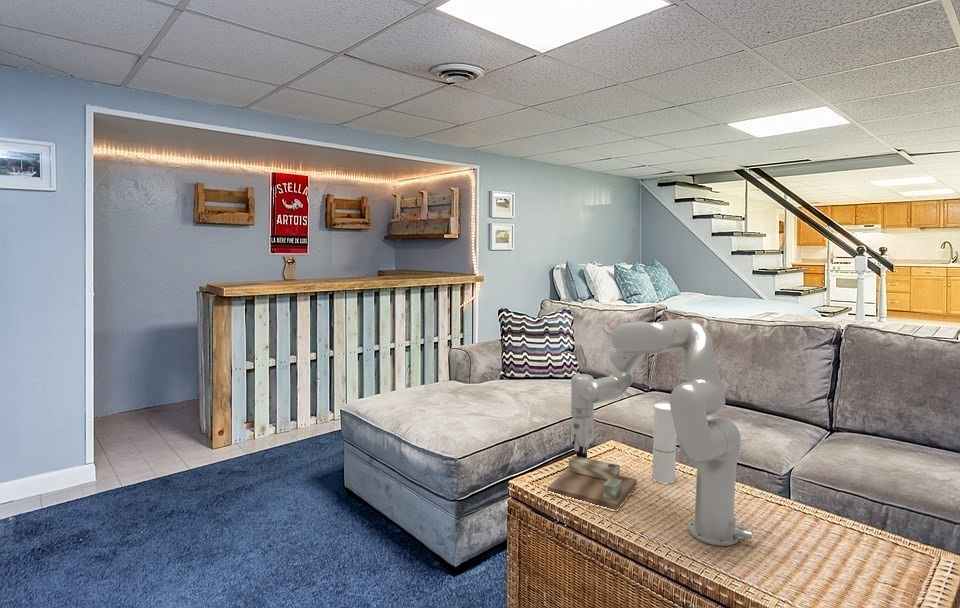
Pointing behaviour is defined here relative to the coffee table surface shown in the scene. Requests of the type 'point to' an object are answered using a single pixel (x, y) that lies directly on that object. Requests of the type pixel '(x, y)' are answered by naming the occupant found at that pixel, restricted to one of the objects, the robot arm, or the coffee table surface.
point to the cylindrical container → (664, 444)
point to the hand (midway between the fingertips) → (581, 463)
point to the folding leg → (594, 468)
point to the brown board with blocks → (594, 488)
